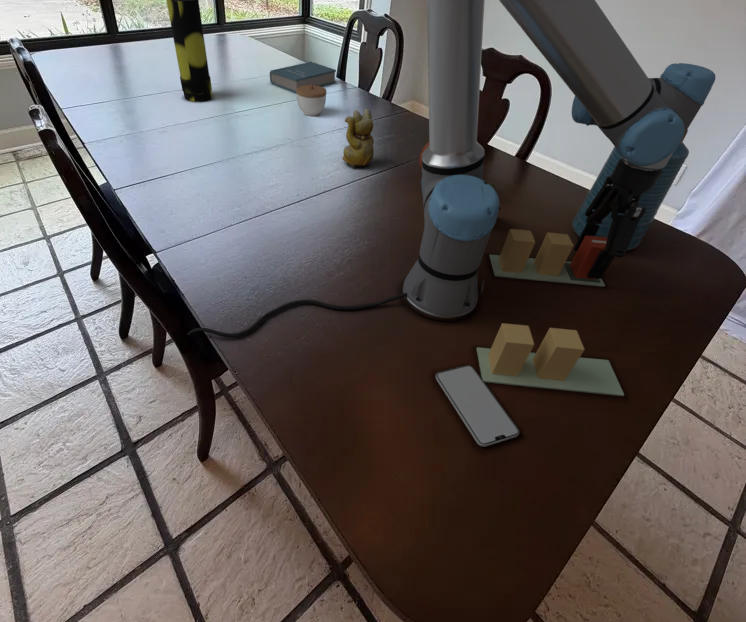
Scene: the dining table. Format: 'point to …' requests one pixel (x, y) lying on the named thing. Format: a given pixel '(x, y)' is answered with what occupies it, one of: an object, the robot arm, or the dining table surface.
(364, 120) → the decorative figurine
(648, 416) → the dining table surface
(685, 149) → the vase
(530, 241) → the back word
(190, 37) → the container
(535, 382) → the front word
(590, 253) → the red slotted block
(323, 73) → the book
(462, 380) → the smartphone
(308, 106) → the trinket box
